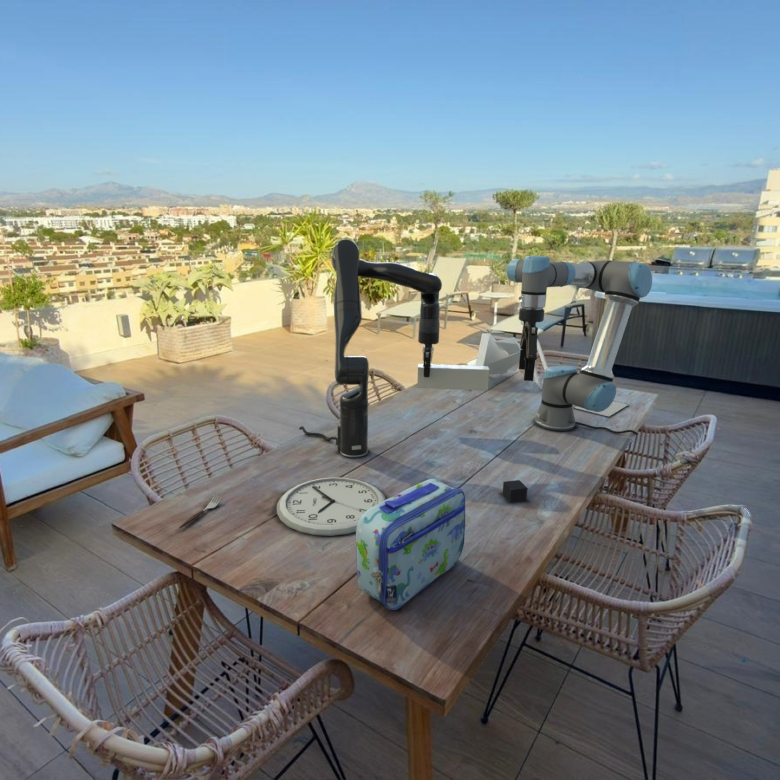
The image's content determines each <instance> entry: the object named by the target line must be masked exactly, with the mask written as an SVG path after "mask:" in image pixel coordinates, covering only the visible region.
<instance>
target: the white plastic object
mask: <svg viewBox="0 0 780 780" xmlns="http://www.w3.org/2000/svg"><path fill="white" fill-rule="evenodd" d="M520 308H521V306H519V307H517V311H518V312H519V309H520ZM521 323H522V324H523V321H521ZM480 337H481V338H480V342H479V346H478V347H479V348H478V351H477V355H476V358H475V359H473V360H470V361H468V362H466V365H468V366H488V368H489V376H491V375H492V376H493V375H498V376H501V375H504V374H507V373H508V372H509V370H510V369H512V368H513V367H514V366H516V365H518V364H519V360H520V350H522V349H521V348H520V342H519V341H517V338H516V337H515V336H513V337H508V338H504V339H499V340H496V339H495V338H494V336H493V335H492V334H491V333H490V332H489V333H487V332H486V333H481V336H480ZM543 351H544V350H543V348H542V346H541V343H540V340H539V339H538V338H537V353H538V355H539V358H540V360H541V364H542V367H543V369H544V371H545V370H546V369H547V368H549V366H548V363H547V359H546V357H545V354H544V352H543ZM533 380H534V382H535V384H536V385H537V386H538V388H539V389H540V390H543V385H542V382H541V380H540V377H539V374H538V371H537V368H536V366H535V367H534V377H533Z"/></svg>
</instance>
